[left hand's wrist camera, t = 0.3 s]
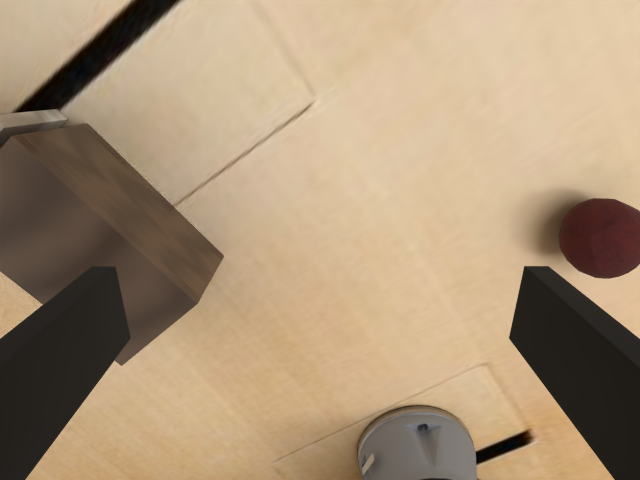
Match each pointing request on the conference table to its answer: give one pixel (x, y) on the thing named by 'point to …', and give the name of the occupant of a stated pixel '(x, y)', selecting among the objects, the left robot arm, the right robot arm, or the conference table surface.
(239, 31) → the conference table surface
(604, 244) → the dark red ball
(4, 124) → the drawer
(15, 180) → the wooden storage box
